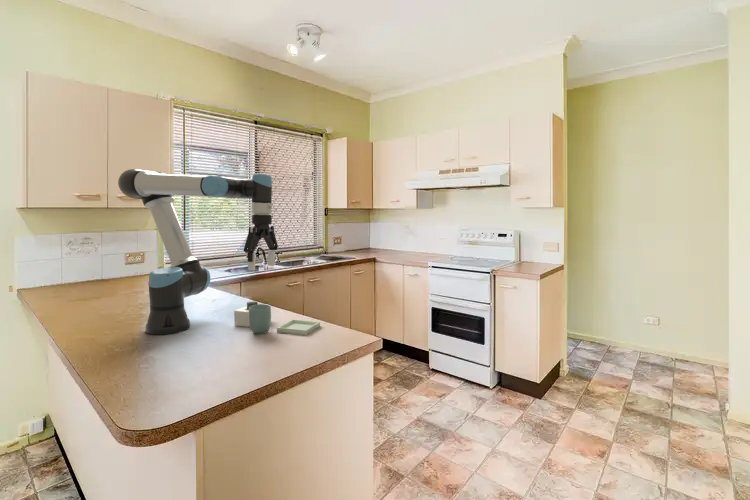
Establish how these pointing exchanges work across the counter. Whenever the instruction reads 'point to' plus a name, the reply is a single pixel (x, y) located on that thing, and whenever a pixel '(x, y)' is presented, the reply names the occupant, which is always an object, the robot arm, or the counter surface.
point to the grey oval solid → (251, 304)
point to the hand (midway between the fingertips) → (261, 267)
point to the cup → (260, 318)
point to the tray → (298, 327)
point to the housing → (242, 317)
